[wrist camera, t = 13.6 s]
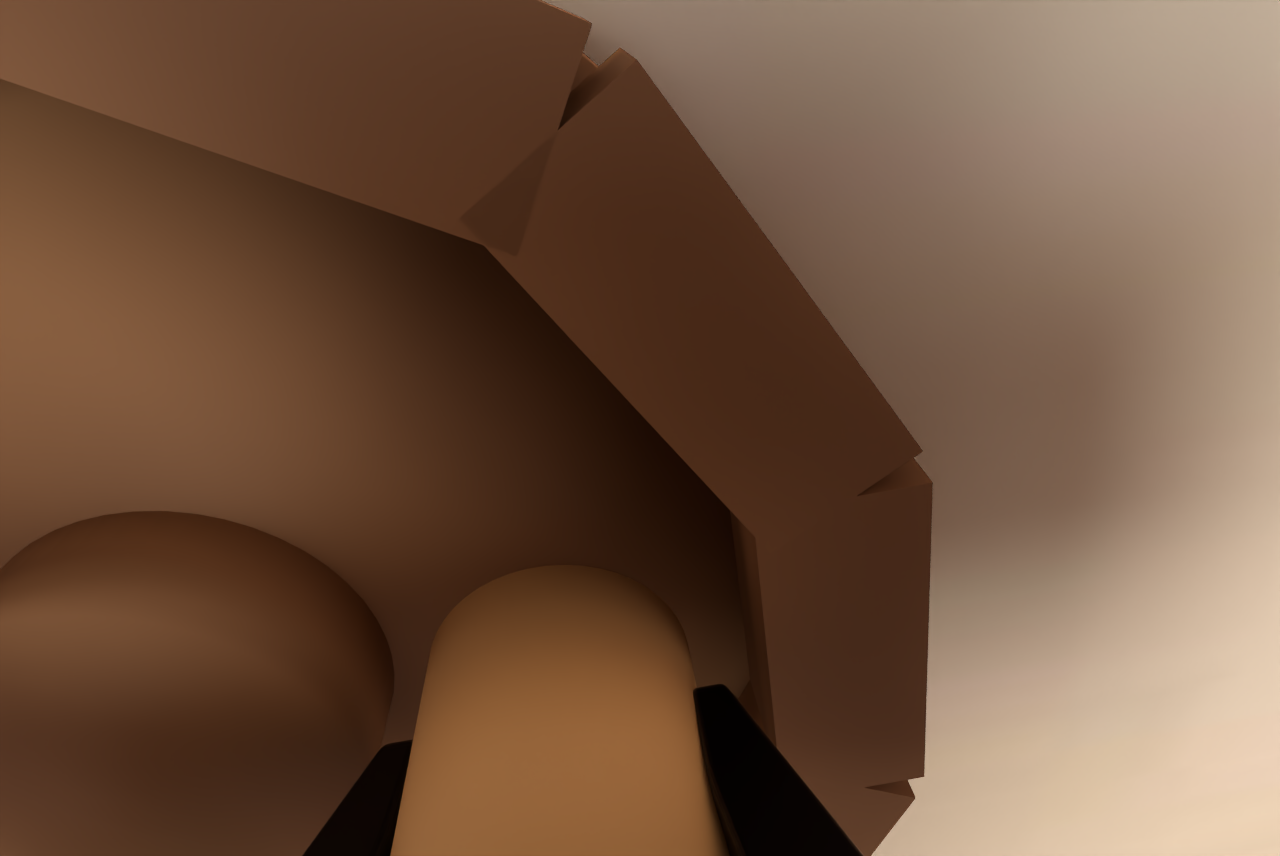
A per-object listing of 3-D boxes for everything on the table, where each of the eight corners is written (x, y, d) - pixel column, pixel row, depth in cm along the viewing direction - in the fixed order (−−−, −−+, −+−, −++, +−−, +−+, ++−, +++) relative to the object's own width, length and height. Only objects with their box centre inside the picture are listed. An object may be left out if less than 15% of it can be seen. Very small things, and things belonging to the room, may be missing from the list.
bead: (735, 612, 10) (827, 927, 7) (621, 780, 12) (649, 1117, 8) (485, 529, 9) (443, 845, 6) (392, 723, 11) (312, 1075, 7)
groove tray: (602, 1016, 19) (610, 1190, 16) (-447, 905, 14) (-693, 1126, 11) (1099, 240, 11) (1285, 321, 8) (-960, -645, 6) (-2257, -1198, 3)
